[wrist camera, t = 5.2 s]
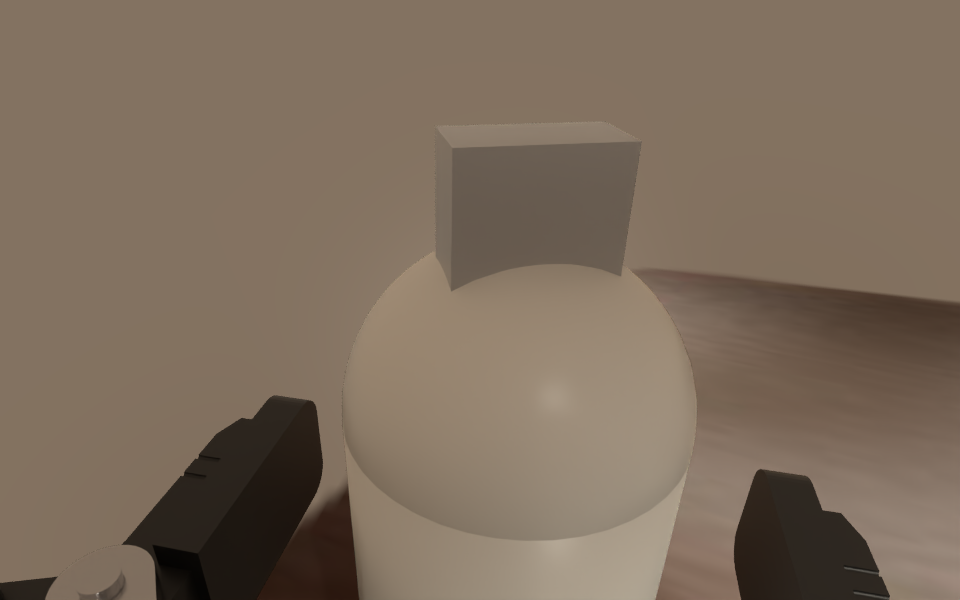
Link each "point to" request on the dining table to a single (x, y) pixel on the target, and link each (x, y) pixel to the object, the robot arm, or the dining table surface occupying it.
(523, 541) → the bottle with rectangular cap
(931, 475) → the dining table surface
